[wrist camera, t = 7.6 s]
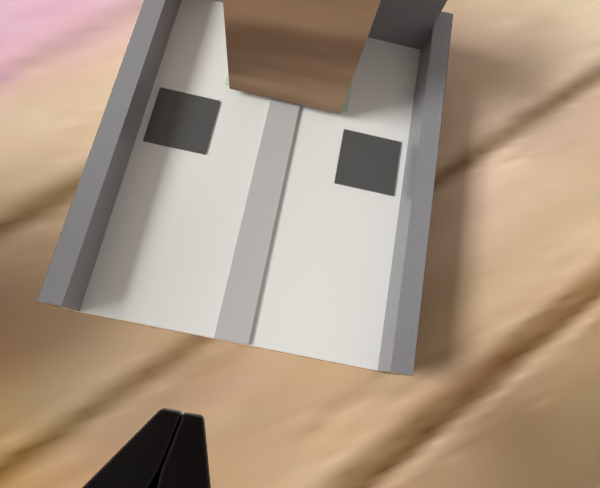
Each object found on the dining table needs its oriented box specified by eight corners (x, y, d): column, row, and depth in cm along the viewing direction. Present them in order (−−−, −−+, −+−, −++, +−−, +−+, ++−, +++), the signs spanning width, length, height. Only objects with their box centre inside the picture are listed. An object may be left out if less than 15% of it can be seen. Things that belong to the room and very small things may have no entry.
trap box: (391, 374, 22) (431, 376, 17) (66, 309, 21) (11, 293, 16) (431, 51, 27) (470, -16, 22) (173, -11, 26) (156, -94, 22)
